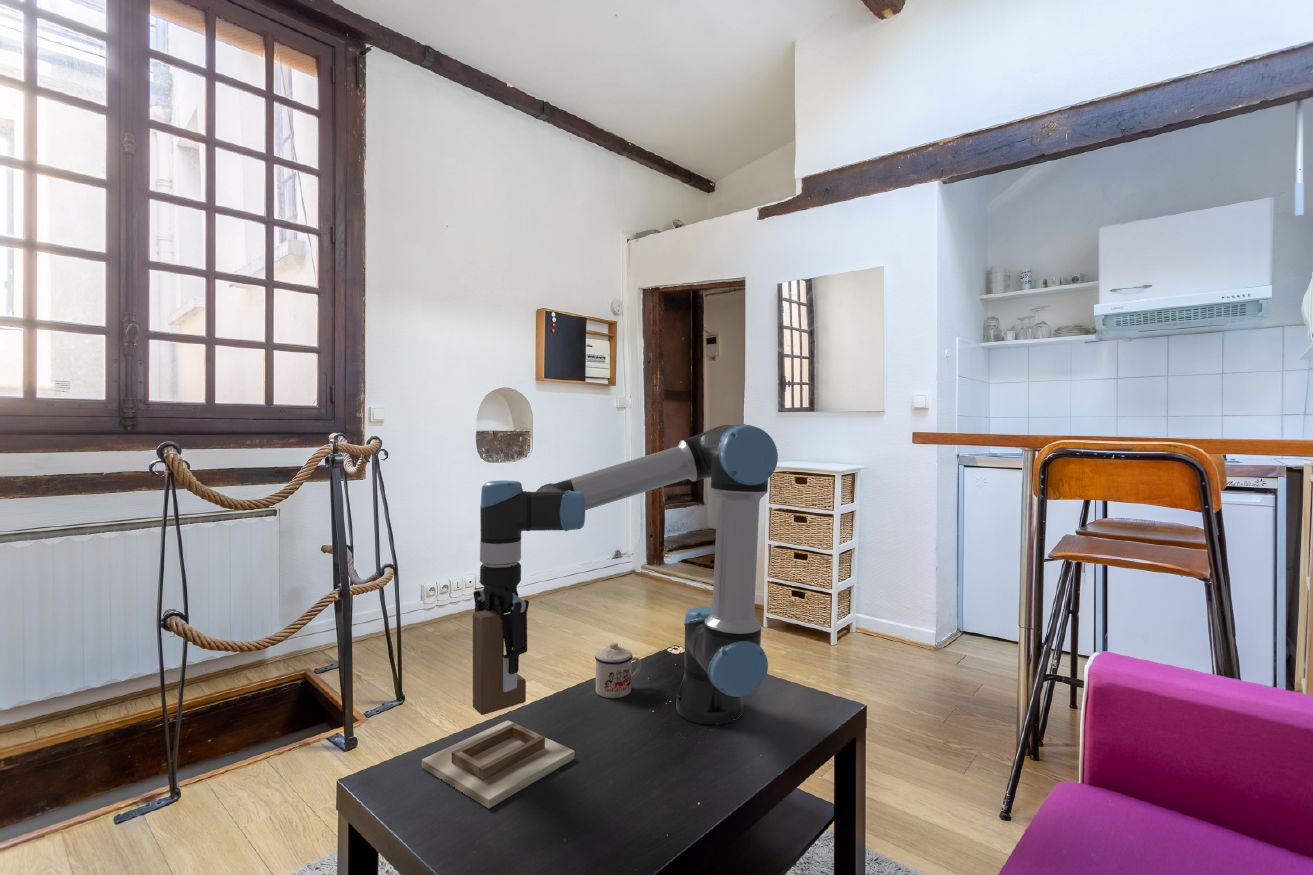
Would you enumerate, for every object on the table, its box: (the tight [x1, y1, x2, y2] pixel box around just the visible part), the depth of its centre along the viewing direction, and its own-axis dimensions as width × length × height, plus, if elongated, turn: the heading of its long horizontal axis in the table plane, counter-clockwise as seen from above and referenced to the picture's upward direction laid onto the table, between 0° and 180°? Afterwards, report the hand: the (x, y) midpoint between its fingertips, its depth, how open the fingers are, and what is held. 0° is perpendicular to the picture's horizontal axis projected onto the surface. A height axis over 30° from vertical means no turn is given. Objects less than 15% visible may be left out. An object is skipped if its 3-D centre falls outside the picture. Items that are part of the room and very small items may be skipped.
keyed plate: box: [421, 719, 576, 810], centre depth 116 cm, size 20×20×4 cm
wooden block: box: [472, 610, 527, 716], centre depth 116 cm, size 9×4×18 cm, turn 129°
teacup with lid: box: [594, 641, 642, 699], centre depth 150 cm, size 12×9×12 cm
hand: (499, 685), depth 116 cm, fingers closed on wooden block, 5 cm apart
